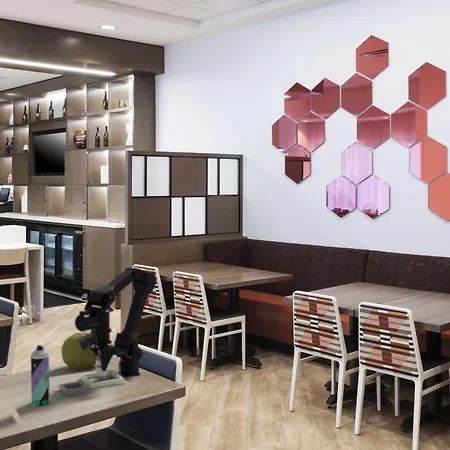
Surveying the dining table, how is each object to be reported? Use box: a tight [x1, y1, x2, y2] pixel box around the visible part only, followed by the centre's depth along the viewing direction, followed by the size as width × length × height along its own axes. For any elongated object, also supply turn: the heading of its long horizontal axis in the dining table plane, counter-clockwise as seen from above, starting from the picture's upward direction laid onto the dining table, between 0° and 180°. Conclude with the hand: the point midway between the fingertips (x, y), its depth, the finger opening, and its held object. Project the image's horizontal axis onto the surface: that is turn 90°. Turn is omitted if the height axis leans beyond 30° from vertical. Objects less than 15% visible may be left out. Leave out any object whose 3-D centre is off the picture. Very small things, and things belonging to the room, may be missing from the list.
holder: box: [51, 380, 96, 400], centre depth 218 cm, size 12×10×4 cm
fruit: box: [60, 332, 96, 370], centre depth 251 cm, size 16×14×15 cm
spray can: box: [30, 344, 51, 407], centre depth 207 cm, size 6×6×20 cm
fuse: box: [95, 355, 109, 381], centre depth 230 cm, size 4×4×8 cm
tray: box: [80, 369, 125, 389], centre depth 230 cm, size 12×12×3 cm
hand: (101, 369), depth 230 cm, fingers closed on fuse, 4 cm apart
